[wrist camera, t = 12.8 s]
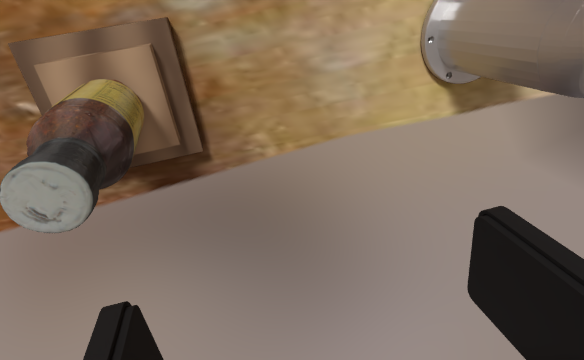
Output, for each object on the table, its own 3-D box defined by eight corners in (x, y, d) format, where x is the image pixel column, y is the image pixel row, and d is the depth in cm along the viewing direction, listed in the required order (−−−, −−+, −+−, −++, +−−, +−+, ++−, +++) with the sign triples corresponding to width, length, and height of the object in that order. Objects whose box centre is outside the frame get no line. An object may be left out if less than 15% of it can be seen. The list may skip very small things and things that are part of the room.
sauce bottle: (98, 148, 36) (14, 278, 19) (60, 89, 33) (-82, 178, 16) (160, 124, 37) (135, 228, 19) (128, 64, 34) (64, 122, 16)
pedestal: (167, 17, 37) (164, 18, 33) (202, 144, 43) (203, 157, 39) (19, 41, 35) (-3, 45, 31) (79, 171, 41) (67, 188, 37)
